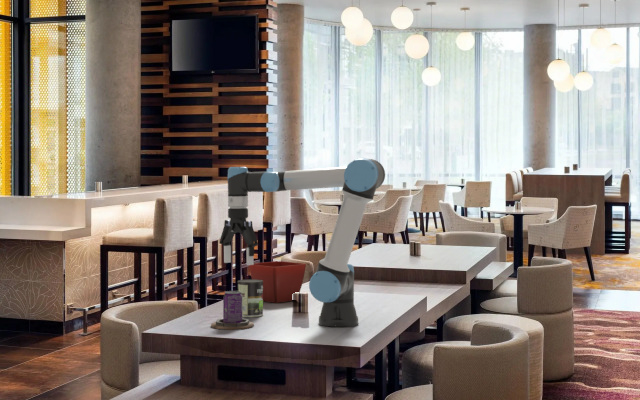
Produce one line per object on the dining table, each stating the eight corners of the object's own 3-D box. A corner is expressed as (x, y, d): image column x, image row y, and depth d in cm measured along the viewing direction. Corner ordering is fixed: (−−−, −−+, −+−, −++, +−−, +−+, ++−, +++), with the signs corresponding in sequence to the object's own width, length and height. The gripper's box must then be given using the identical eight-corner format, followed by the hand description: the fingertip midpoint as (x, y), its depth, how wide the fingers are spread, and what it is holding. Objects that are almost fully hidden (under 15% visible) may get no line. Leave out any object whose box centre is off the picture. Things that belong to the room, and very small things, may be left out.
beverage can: (232, 321, 317) (232, 290, 317) (246, 323, 313) (246, 291, 313) (219, 324, 312) (219, 292, 312) (232, 326, 307) (232, 293, 307)
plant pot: (247, 300, 378) (247, 263, 378) (280, 296, 391) (280, 260, 391) (274, 305, 364) (274, 266, 364) (307, 301, 377) (307, 263, 377)
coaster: (262, 326, 312) (262, 321, 312) (227, 331, 301) (227, 326, 301) (236, 320, 324) (236, 315, 324) (202, 325, 313) (202, 320, 313)
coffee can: (266, 313, 341) (266, 279, 341) (259, 317, 331) (259, 282, 331) (241, 312, 343) (241, 278, 343) (234, 317, 333) (234, 281, 333)
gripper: (210, 207, 321) (210, 262, 321) (251, 208, 303) (252, 266, 303) (225, 206, 326) (226, 261, 326) (267, 207, 308) (267, 265, 309)
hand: (238, 263), depth 315 cm, fingers open, 13 cm apart
